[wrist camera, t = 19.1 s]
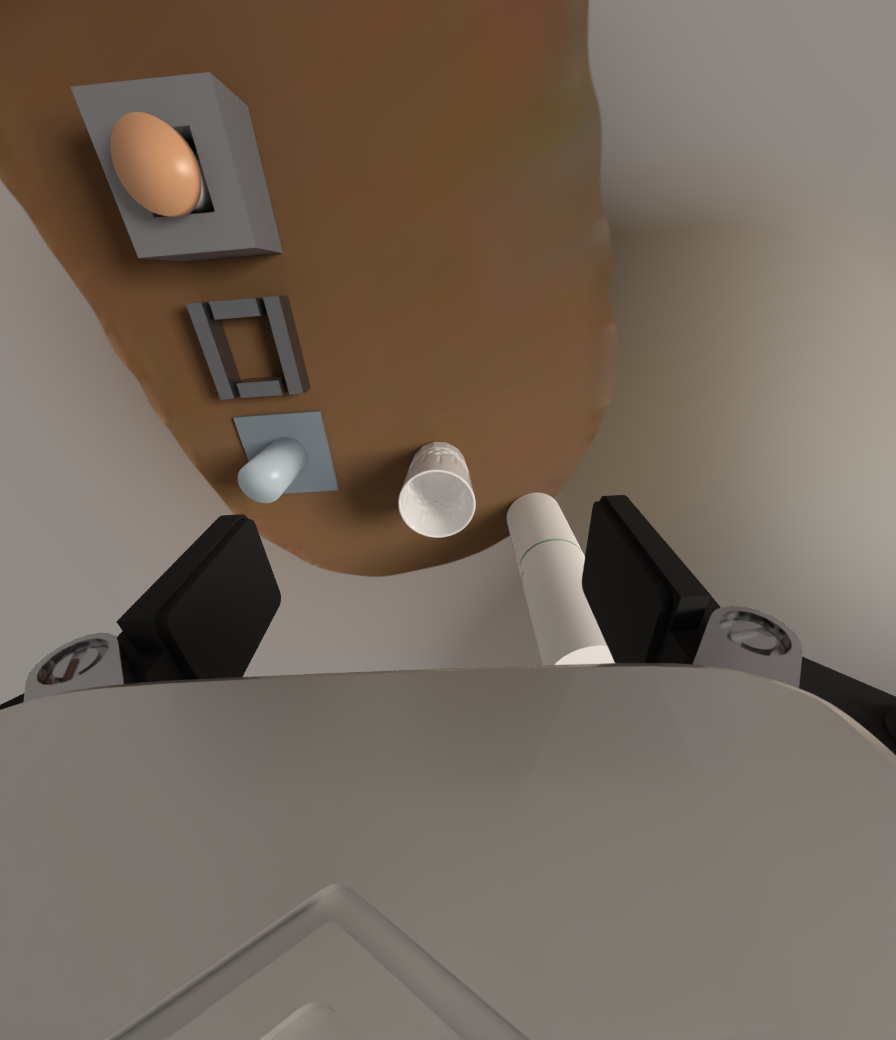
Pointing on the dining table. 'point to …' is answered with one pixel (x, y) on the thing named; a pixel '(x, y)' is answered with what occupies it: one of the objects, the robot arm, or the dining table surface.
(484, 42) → the dining table surface
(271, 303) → the cartridge socket
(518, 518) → the cylindrical container
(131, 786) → the robot arm
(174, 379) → the dining table surface
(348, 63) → the dining table surface
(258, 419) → the rubber mat
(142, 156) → the plunger
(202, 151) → the plunger housing
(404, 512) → the white cup
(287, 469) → the cylinder
